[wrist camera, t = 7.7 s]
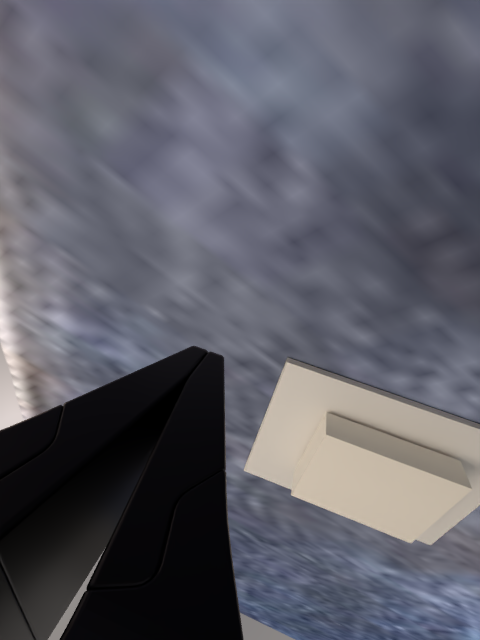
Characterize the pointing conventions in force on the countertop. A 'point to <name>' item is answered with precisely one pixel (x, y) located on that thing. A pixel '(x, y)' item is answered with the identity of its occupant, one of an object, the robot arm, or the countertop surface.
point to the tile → (377, 478)
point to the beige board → (365, 409)
